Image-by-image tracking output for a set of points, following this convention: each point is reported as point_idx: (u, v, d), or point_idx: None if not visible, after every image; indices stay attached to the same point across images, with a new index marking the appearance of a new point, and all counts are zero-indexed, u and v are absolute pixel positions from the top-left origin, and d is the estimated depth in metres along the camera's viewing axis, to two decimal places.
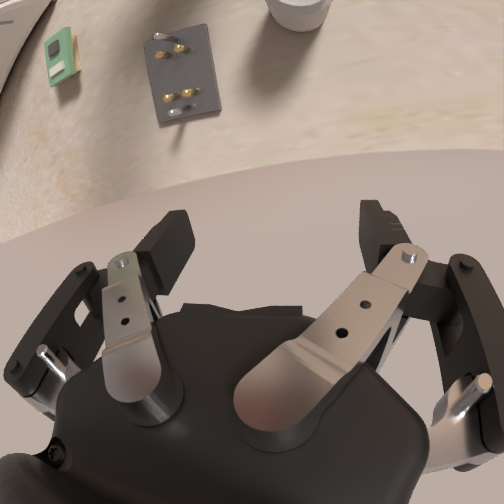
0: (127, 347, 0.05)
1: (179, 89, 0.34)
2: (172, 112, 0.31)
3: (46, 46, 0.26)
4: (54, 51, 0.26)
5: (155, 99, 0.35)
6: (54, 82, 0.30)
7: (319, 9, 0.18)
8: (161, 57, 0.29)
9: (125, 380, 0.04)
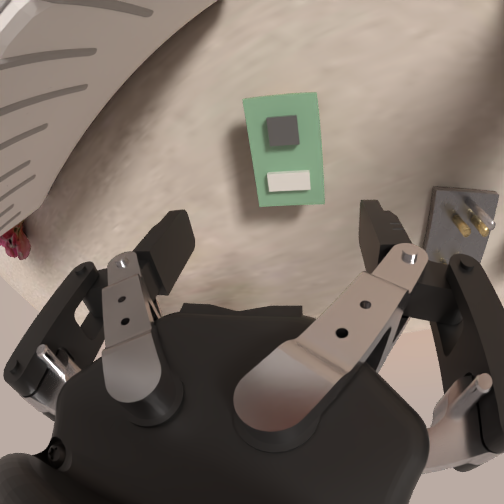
0: (127, 347, 0.05)
1: None
2: None
3: (251, 111, 0.20)
4: (290, 142, 0.21)
5: None
6: (274, 202, 0.25)
7: None
8: None
9: (125, 380, 0.04)
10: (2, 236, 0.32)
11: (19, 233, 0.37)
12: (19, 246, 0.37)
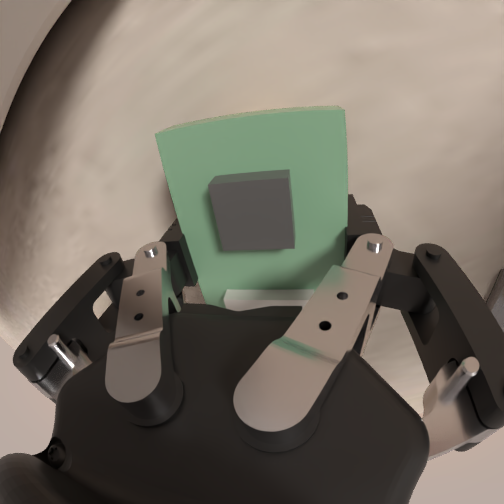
0: (133, 345, 0.05)
1: None
2: None
3: (177, 163, 0.09)
4: (273, 243, 0.09)
5: None
6: None
7: None
8: None
9: (125, 380, 0.04)
10: None
11: None
12: None
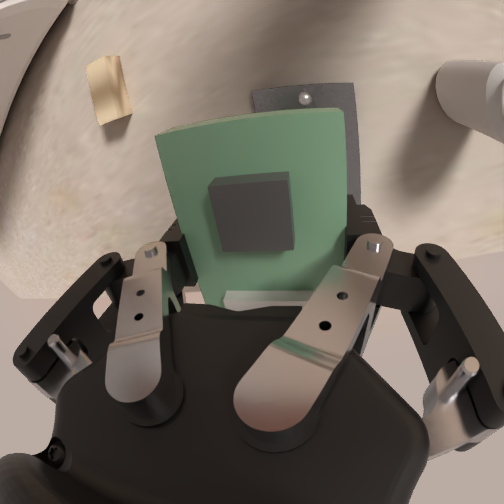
0: (133, 345, 0.05)
1: None
2: None
3: (177, 165, 0.09)
4: (272, 244, 0.09)
5: None
6: None
7: None
8: None
9: (125, 380, 0.04)
10: None
11: None
12: None
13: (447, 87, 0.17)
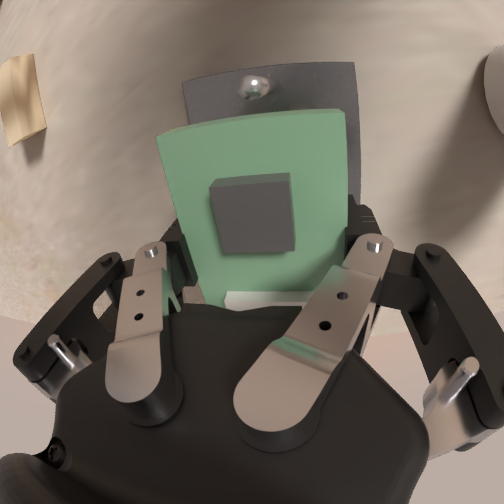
0: (133, 345, 0.05)
1: None
2: None
3: (177, 166, 0.09)
4: (273, 245, 0.09)
5: None
6: None
7: None
8: None
9: (125, 380, 0.04)
10: None
11: None
12: None
13: None
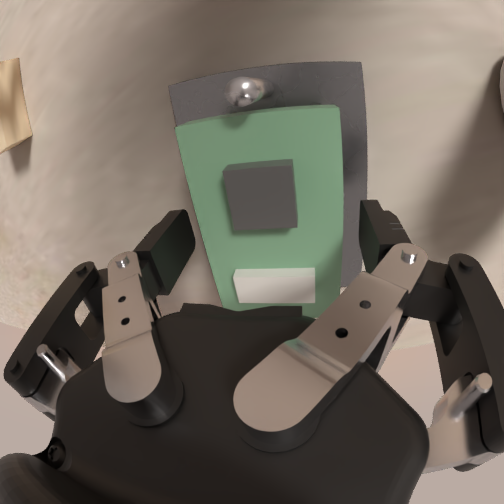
0: (127, 347, 0.05)
1: None
2: None
3: (194, 154, 0.10)
4: (278, 222, 0.10)
5: None
6: None
7: None
8: None
9: (125, 380, 0.04)
10: None
11: None
12: None
13: None
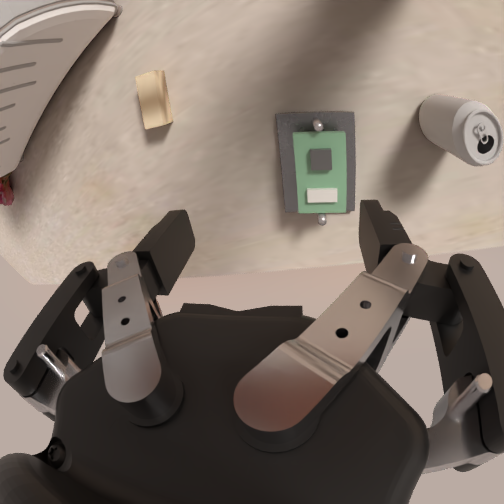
0: (127, 347, 0.05)
1: None
2: (325, 221, 0.33)
3: (298, 144, 0.29)
4: (326, 168, 0.29)
5: (285, 186, 0.37)
6: (310, 210, 0.33)
7: None
8: None
9: (125, 380, 0.04)
10: None
11: (6, 184, 0.42)
12: (4, 194, 0.42)
13: (427, 117, 0.25)
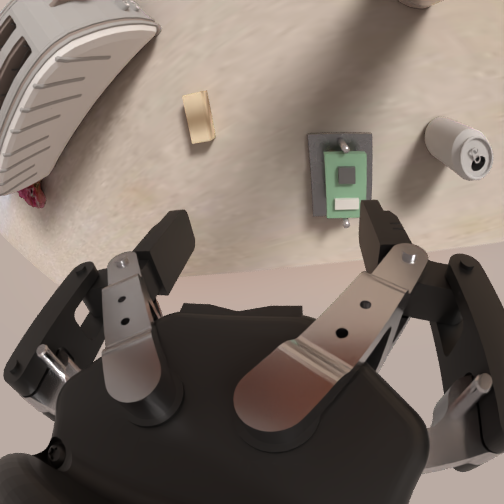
0: (127, 347, 0.05)
1: None
2: (348, 224, 0.39)
3: (328, 162, 0.36)
4: (350, 182, 0.36)
5: (314, 195, 0.43)
6: (336, 215, 0.40)
7: None
8: None
9: (125, 380, 0.04)
10: None
11: (38, 188, 0.49)
12: (37, 197, 0.49)
13: (431, 138, 0.31)
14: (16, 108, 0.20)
